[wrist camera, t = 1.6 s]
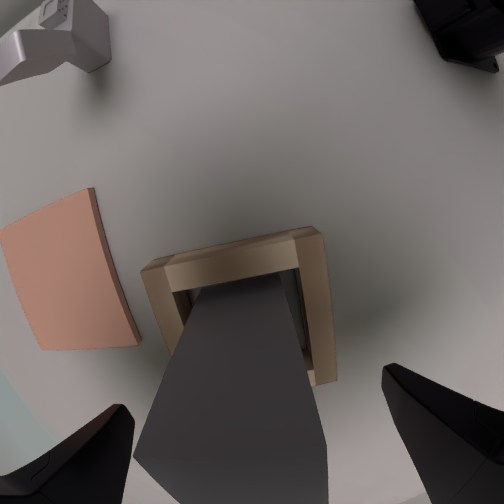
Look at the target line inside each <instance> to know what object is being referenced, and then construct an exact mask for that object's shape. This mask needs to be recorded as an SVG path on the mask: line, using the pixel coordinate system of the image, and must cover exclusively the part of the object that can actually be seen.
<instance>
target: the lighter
mask: <svg viewBox="0 0 504 504" xmlns="http://www.w3.org/2000/svg"><path fill="white" fill-rule="evenodd" d="M38 24H39V25H40V26H42V27H44V28H45V30H44V29H29V30H18V31H16V32H14V33H12V34H11V35H10V36H9V37H8V38H7V39H6V40H5V41H4V42H3V43H2V44H1V45H0V86H2V85H5V84H8V83H11V82H15V81H18V80H22V79H25V78H29V77H33V76H37V75H41V74H45V73H48V72H50V71H52V70H54V69H55V68H57V67H58V66H60V65H61V64H63V63H64V62H66V61H67V62H69V63H71V64H73V65H75V66H76V67H78V68H80V69H82V70H83V71H85V72H87V73H90V72H91V71H93V70H95V69H97V68H99V67H101V66H103V65H104V64H106V63H108V62H110V60H111V59H112V58H111V49H110V39H109V26H108V16H107V15H106V14H105V13H104V11H103V10H102V9H101V8H100V7H99V6H98V5H97V4H96V3H94V2H93V1H92V0H45V1H44V2H43V3H42V4H41V10H40V16H39V22H38Z"/></svg>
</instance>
